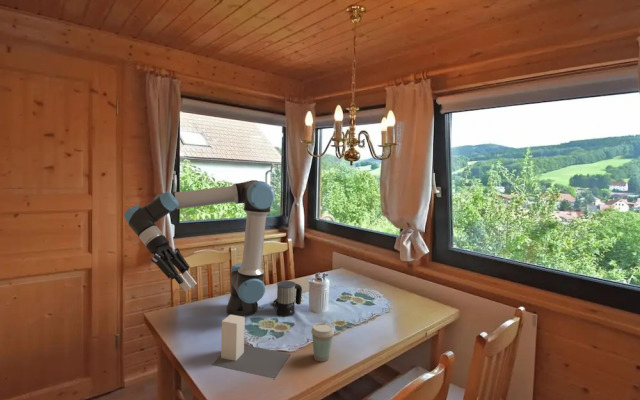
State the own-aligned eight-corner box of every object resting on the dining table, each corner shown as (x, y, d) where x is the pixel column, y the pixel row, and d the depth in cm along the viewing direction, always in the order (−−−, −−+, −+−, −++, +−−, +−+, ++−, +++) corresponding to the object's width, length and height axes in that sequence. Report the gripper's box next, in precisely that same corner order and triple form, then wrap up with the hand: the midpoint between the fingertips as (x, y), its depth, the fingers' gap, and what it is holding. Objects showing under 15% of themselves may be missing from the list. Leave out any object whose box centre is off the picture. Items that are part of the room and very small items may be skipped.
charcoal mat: (211, 366, 120) (211, 364, 120) (233, 344, 135) (233, 342, 135) (274, 380, 114) (274, 378, 114) (290, 355, 129) (290, 353, 129)
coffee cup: (331, 351, 133) (333, 322, 132) (333, 364, 125) (334, 332, 123) (310, 350, 133) (311, 321, 132) (310, 363, 124) (311, 332, 123)
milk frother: (287, 318, 160) (288, 288, 159) (261, 310, 168) (262, 281, 167) (303, 308, 172) (304, 280, 171) (278, 301, 180) (279, 274, 179)
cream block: (220, 357, 124) (221, 321, 123) (229, 349, 130) (229, 314, 129) (235, 360, 123) (236, 323, 121) (243, 352, 128) (244, 316, 127)
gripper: (163, 242, 140) (197, 286, 137) (132, 251, 125) (171, 301, 122) (174, 230, 138) (209, 275, 136) (144, 238, 123) (183, 288, 120)
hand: (191, 287), depth 129 cm, fingers open, 3 cm apart
